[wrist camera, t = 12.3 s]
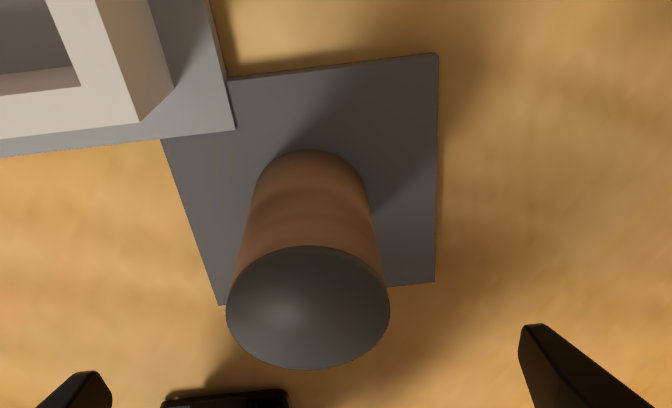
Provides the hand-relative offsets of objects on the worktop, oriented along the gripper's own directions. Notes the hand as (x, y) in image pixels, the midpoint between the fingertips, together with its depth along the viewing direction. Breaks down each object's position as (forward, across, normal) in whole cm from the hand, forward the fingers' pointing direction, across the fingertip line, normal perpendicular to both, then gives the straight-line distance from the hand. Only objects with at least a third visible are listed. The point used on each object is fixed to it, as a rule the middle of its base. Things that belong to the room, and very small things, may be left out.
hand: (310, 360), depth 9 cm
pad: (+8, 0, 0) cm, 8 cm away
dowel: (+7, 0, 0) cm, 7 cm away
